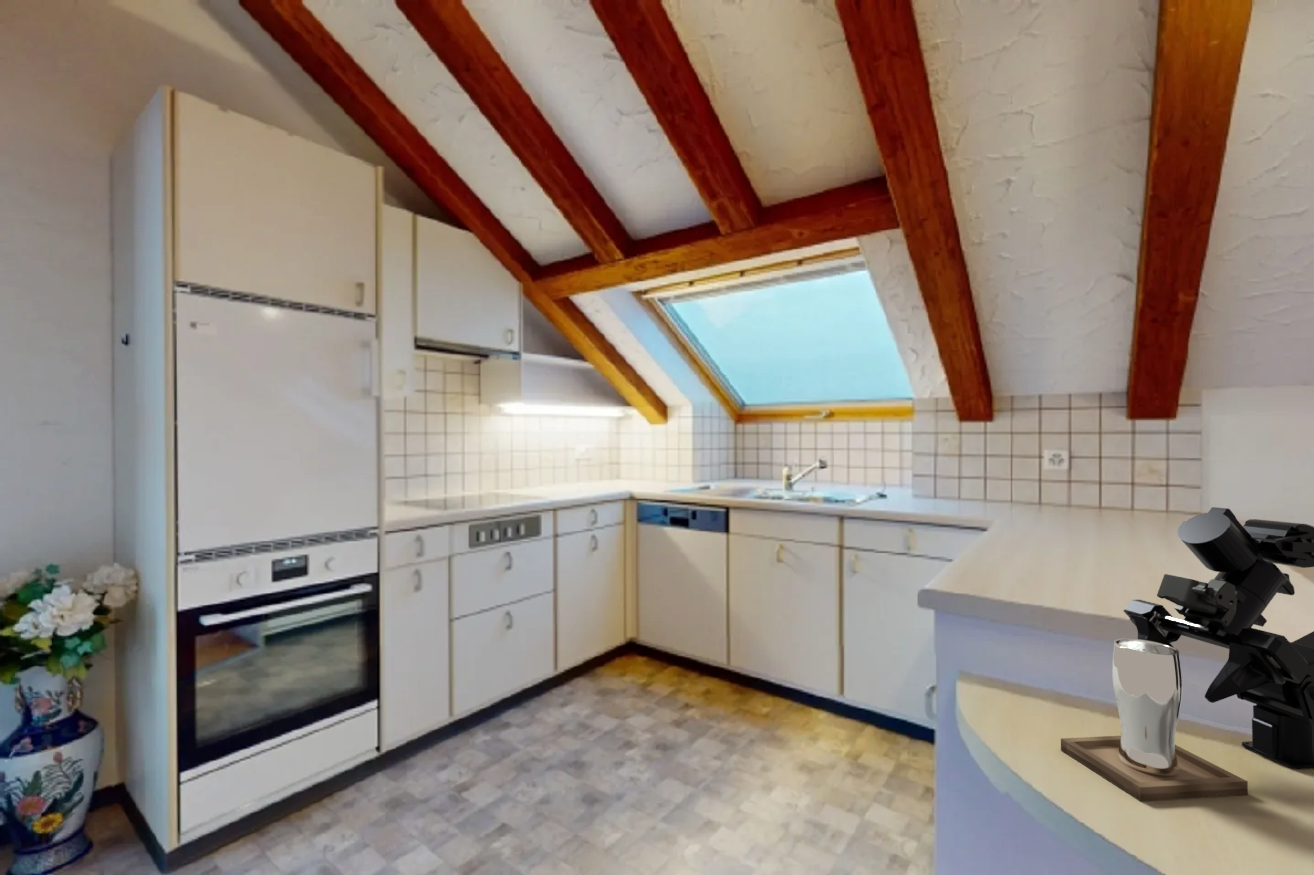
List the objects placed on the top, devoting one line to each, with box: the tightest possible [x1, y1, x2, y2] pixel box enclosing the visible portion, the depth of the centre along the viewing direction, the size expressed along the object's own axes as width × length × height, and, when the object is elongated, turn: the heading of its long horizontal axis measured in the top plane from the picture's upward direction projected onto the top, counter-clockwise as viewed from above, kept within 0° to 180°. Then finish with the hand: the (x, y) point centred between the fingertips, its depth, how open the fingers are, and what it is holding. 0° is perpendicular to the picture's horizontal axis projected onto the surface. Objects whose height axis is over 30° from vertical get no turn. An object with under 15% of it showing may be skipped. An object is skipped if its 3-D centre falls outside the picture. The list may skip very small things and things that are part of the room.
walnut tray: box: [1060, 735, 1249, 802], centre depth 76 cm, size 14×12×2 cm
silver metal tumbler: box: [1111, 637, 1183, 776], centre depth 77 cm, size 7×7×15 cm
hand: (1169, 685), depth 77 cm, fingers open, 9 cm apart
